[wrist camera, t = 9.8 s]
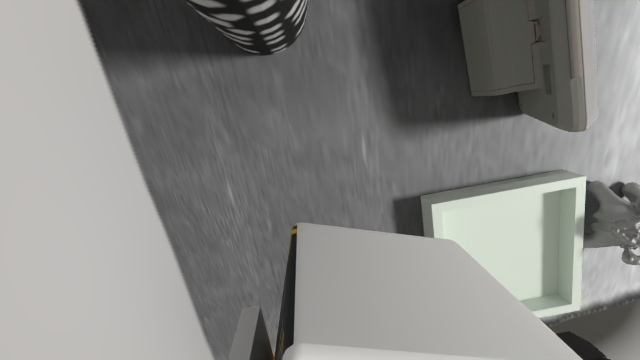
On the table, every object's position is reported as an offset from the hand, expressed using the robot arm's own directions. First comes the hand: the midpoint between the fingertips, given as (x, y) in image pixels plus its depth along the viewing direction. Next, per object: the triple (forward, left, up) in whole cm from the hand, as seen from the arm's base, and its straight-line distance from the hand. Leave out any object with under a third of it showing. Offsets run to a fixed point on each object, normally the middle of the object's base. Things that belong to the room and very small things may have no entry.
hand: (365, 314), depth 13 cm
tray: (+11, +18, -21) cm, 30 cm away
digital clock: (-11, +20, -21) cm, 31 cm away
